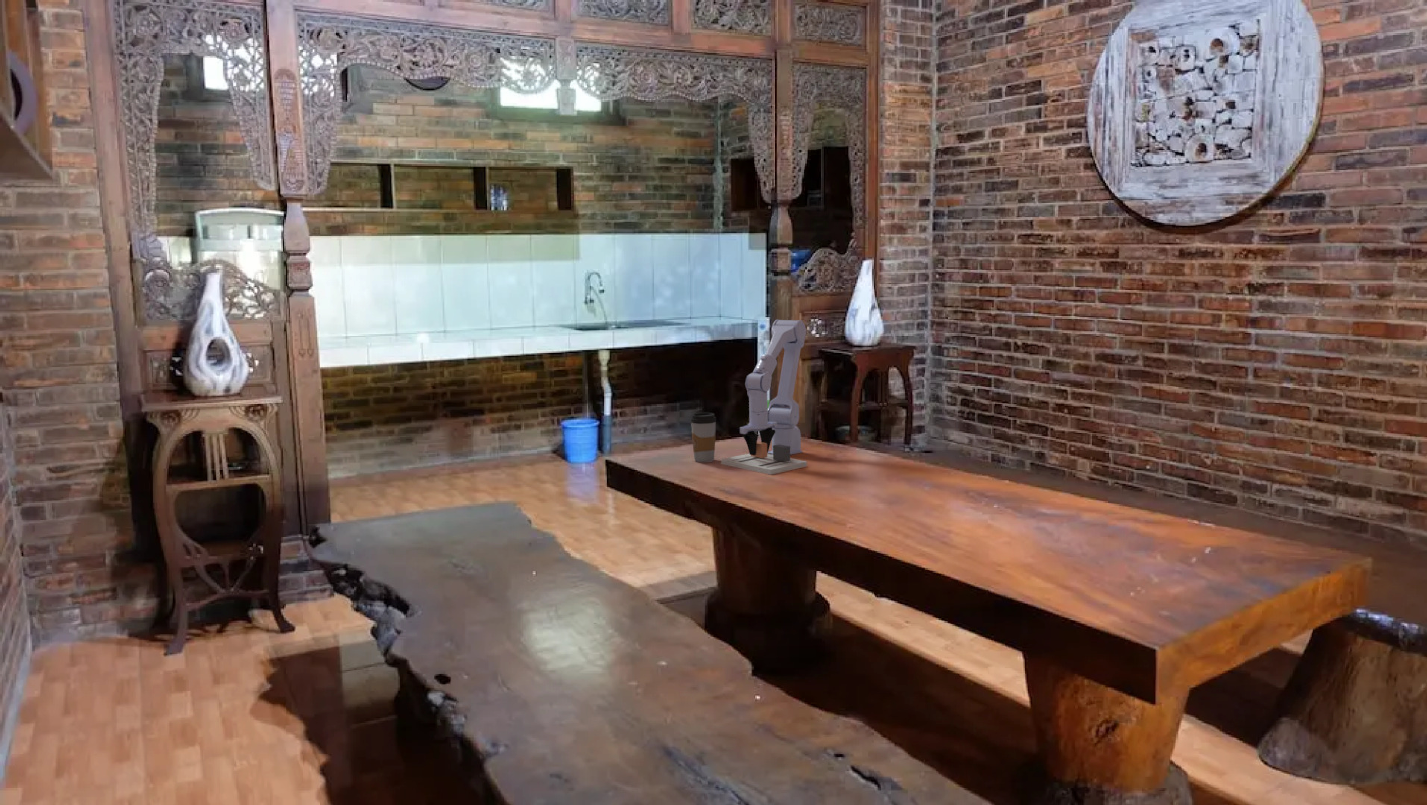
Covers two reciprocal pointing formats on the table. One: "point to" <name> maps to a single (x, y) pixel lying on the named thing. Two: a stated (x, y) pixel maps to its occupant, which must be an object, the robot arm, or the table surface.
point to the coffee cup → (703, 436)
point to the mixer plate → (763, 463)
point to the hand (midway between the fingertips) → (759, 453)
